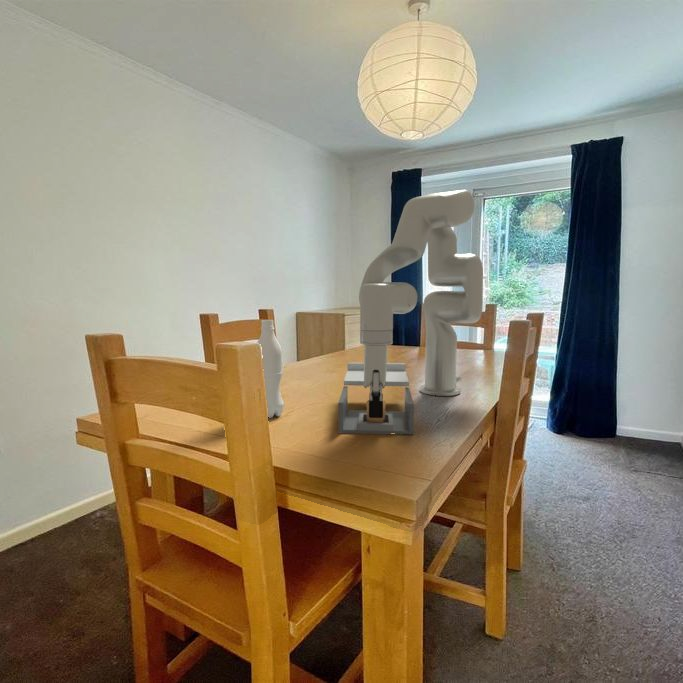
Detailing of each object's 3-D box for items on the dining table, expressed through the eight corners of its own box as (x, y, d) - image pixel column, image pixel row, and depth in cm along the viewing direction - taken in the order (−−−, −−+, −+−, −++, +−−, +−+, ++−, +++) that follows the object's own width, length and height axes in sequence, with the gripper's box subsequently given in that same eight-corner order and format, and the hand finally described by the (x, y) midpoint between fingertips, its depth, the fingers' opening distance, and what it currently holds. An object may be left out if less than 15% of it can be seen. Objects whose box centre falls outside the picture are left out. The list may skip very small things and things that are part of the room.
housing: (343, 412, 109) (343, 386, 108) (408, 414, 107) (408, 387, 106) (338, 432, 94) (338, 402, 93) (413, 434, 93) (413, 404, 92)
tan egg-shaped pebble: (375, 419, 100) (375, 397, 99) (389, 424, 97) (389, 401, 96) (362, 424, 97) (362, 402, 96) (376, 429, 94) (376, 406, 93)
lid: (347, 373, 123) (347, 362, 122) (405, 373, 121) (405, 363, 121) (343, 385, 108) (343, 373, 107) (408, 386, 106) (409, 374, 106)
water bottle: (285, 410, 111) (283, 318, 107) (282, 419, 104) (279, 321, 100) (258, 411, 111) (255, 319, 107) (254, 419, 104) (250, 321, 100)
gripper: (361, 332, 103) (361, 402, 106) (358, 342, 86) (358, 425, 89) (391, 333, 102) (390, 403, 105) (394, 342, 86) (393, 426, 88)
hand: (375, 412), depth 97 cm, fingers open, 5 cm apart
